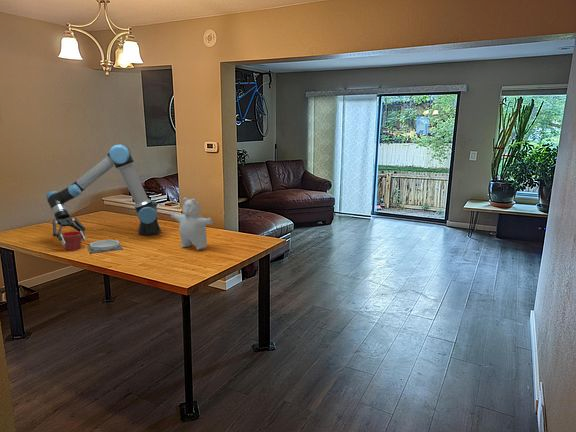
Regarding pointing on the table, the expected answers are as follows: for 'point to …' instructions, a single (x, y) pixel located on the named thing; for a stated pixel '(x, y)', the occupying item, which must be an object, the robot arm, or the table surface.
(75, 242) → the flower pot
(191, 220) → the bear
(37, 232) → the table surface
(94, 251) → the grey octagonal tray
